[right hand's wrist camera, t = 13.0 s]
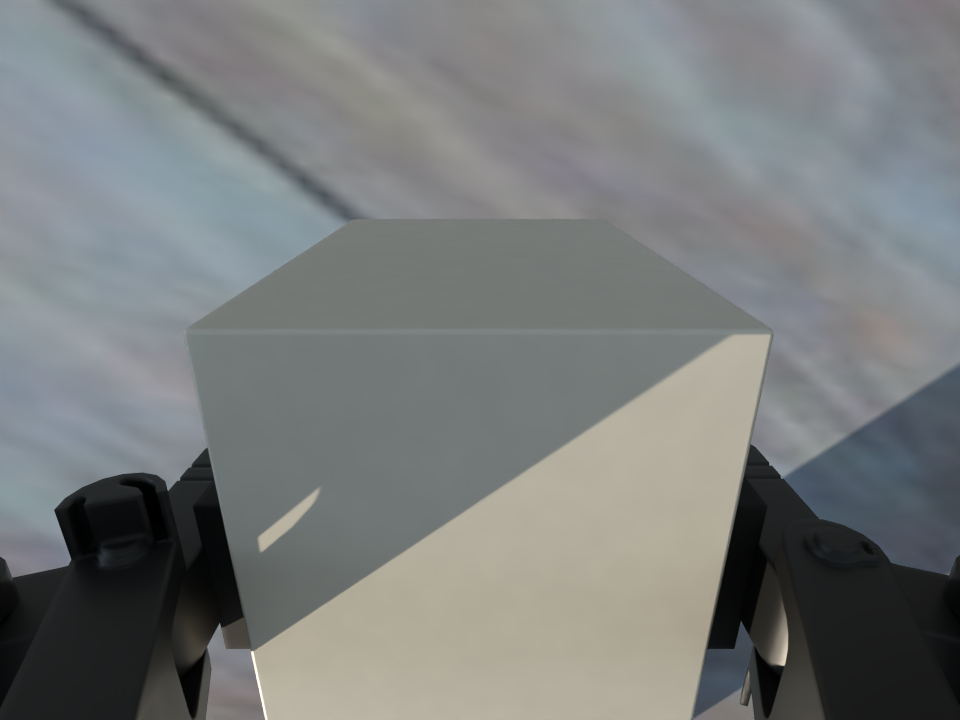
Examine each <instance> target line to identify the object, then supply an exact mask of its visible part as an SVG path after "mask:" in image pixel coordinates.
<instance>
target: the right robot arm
mask: <svg viewBox="0 0 960 720" xmlns="http://www.w3.org/2000/svg"><path fill="white" fill-rule="evenodd" d="M54 511H55V514H56V516H57V519H58V522H59V525H60V528H61V531H62V534H63V536H64V539H65V542H66V545H67V548H68V551H69V554H70V556H71V559H72V560H71V562H70V564H69V566H66V567H62V568H57V569H52V570H48V571H43V572H38V573H33V574H29V575H24V576H19V577H14V578H12V576H11V573H10V571H9V568H8V566H7V563H6V561H5V560H4V559H3V558H1V557H0V720H205V719H206V711H207V702H208V694H209V685H210V677H211V663H210V657H209V653H208V649H207V645H208V644H209V642H210V640H211V638H212V636H213V634H214V632H215V630H216V629H217V627H218V625H219V623H220V625H221V629H222V633H223V637H224V642H225V646H226V649H250V644H249V640H248V635H247V630H246V626H245V621H244V616H243V611H242V607H241V602H240V597H239V593H238V588H237V583H236V579H235V574H234V569H233V564H232V560H231V555H230V550H229V546H228V541H227V536H226V531H225V527H224V522H223V517H222V513H221V508H220V503H219V499H218V494H217V489H216V484H215V480H214V475H213V470H212V466H211V461H210V456H209V451H208V448H206V449H205V450H204V451H203V452H202V453H201V455H200V456H199V457H198V458H197V459H196V460H195V461H194V463H193V464H192V467H191V468H188V469H187V470H186V472H185V473H184V474H183V475H182V476H181V477H180V481H177V482H176V483H175V484H174V485H173V486H172V488H171V489H170V490H169V491H167V487H166V483H165V481H164V480H163V479H161V478H160V477H159V476H157V475H153V474H147V473H131V474H121V475H117V476H113V477H109V478H105V479H102V480H99V481H97V482H94V483H92V484H90V485H87V486H85V487H82V488H81V489H79V490H77V491H76V492H74V493H73V494H71V495H70V496H68V497H66V498H65V499H64V500H63V501H62V502H61V503H60V504H59V505H58V507H57V508H56V509H55V510H54ZM741 621H742V623H743V625H744V627H745V629H746V631H747V632H748V634H749V636H750V638H751V640H752V642H753V644H754V645H753V649H752V653H751V657H750V661H749V665H748V669H747V673H746V677H745V681H744V685H743V689H742V693H741V700H740V704H741V705H745V706H748V703H749V699H750V695H751V693H752V701H753V709H754V718H755V720H960V556H958V557H957V558H956V560H955V562H954V565H953V567H952V570H951V572H950V575H949V576H948V575H944V574H939V573H934V572H929V571H924V570H920V569H915V568H910V567H905V566H901V565H896V564H893V563H890V561H889V559H888V557H887V556H886V555H885V554H884V552H883V551H882V550H881V548H880V547H879V546H878V545H876V544H875V543H874V542H872V541H871V540H870V539H868V538H867V537H866V536H864V535H863V534H861V533H859V532H857V531H855V530H852V529H850V528H848V527H846V526H844V525H841V524H837V523H834V522H830V521H827V520H821V519H819V518H818V517H817V516H816V515H815V514H814V513H813V512H812V510H811V509H810V508H809V507H808V506H807V505H806V504H805V503H804V501H803V500H802V499H801V498H800V497H799V496H798V495H797V494H796V492H795V491H794V490H793V489H792V488H791V487H790V486H789V484H788V483H787V482H786V481H785V480H784V479H781V475H780V474H779V473H778V472H777V471H776V470H775V469H774V468H773V466H769V462H768V461H767V460H766V459H765V457H764V456H763V455H762V454H761V453H760V452H759V451H758V450H757V448H756V447H754V446H753V445H751V444H750V449H749V454H748V458H747V463H746V468H745V473H744V477H743V482H742V487H741V492H740V496H739V501H738V506H737V511H736V515H735V520H734V525H733V530H732V534H731V539H730V544H729V549H728V553H727V558H726V563H725V568H724V572H723V577H722V582H721V587H720V591H719V596H718V601H717V605H716V610H715V615H714V620H713V624H712V629H711V634H710V639H709V643H708V648H707V649H734V647H735V643H736V639H737V635H738V631H739V626H740V622H741Z"/></svg>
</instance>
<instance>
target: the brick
mask: <svg viewBox="0 0 960 720" xmlns="http://www.w3.org/2000/svg"><path fill="white" fill-rule="evenodd" d="M184 339H185V343H186V348H187V353H188V357H189V362H190V367H191V372H192V376H193V381H194V386H195V390H196V395H197V400H198V404H199V409H200V414H201V419H202V423H203V428H204V433H205V437H206V442H207V447H208V451H209V456H210V461H211V466H212V470H213V475H214V480H215V484H216V489H217V494H218V499H219V503H220V508H221V513H222V517H223V522H224V527H225V531H226V536H227V541H228V546H229V550H230V555H231V560H232V564H233V569H234V574H235V579H236V583H237V588H238V593H239V597H240V602H241V607H242V611H243V616H244V621H245V626H246V630H247V635H248V640H249V644H250V649H251V654H252V658H253V663H254V668H255V673H256V677H257V682H258V687H259V691H260V696H261V701H262V706H263V710H264V715H265V720H692V719H693V715H694V710H695V705H696V700H697V696H698V691H699V686H700V681H701V677H702V672H703V667H704V662H705V658H706V653H707V648H708V643H709V639H710V634H711V629H712V624H713V620H714V615H715V610H716V605H717V601H718V596H719V591H720V587H721V582H722V577H723V572H724V568H725V563H726V558H727V553H728V549H729V544H730V539H731V534H732V530H733V525H734V520H735V515H736V511H737V506H738V501H739V496H740V492H741V487H742V482H743V477H744V473H745V468H746V463H747V458H748V454H749V449H750V444H751V439H752V435H753V430H754V425H755V420H756V416H757V411H758V406H759V401H760V397H761V392H762V387H763V382H764V378H765V373H766V368H767V363H768V359H769V354H770V349H771V344H772V340H773V330H772V329H771V328H769V327H768V326H766V325H765V324H763V323H762V322H760V321H759V320H757V319H756V318H754V317H753V316H751V315H750V314H748V313H747V312H745V311H744V310H742V309H740V308H739V307H737V306H736V305H734V304H733V303H731V302H730V301H728V300H727V299H725V298H724V297H722V296H721V295H719V294H718V293H716V292H715V291H713V290H712V289H710V288H709V287H707V286H705V285H704V284H702V283H701V282H699V281H698V280H696V279H695V278H693V277H692V276H690V275H689V274H687V273H686V272H684V271H683V270H681V269H680V268H678V267H677V266H675V265H674V264H672V263H670V262H669V261H667V260H666V259H664V258H663V257H661V256H660V255H658V254H657V253H655V252H654V251H652V250H651V249H649V248H648V247H646V246H645V245H643V244H642V243H640V242H639V241H637V240H635V239H634V238H632V237H631V236H629V235H628V234H626V233H625V232H623V231H622V230H620V229H619V228H617V227H616V226H614V225H613V224H611V223H610V222H608V221H607V220H604V219H354V220H352V221H351V222H349V223H348V224H346V225H345V226H343V227H341V228H340V229H338V230H337V231H335V232H334V233H332V234H331V235H329V236H328V237H326V238H325V239H323V240H322V241H320V242H318V243H317V244H315V245H314V246H312V247H311V248H309V249H308V250H306V251H305V252H303V253H302V254H300V255H298V256H297V257H295V258H294V259H292V260H291V261H289V262H288V263H286V264H285V265H283V266H282V267H280V268H278V269H277V270H275V271H274V272H272V273H271V274H269V275H268V276H266V277H265V278H263V279H262V280H260V281H259V282H257V283H255V284H254V285H252V286H251V287H249V288H248V289H246V290H245V291H243V292H242V293H240V294H239V295H237V296H235V297H234V298H232V299H231V300H229V301H228V302H226V303H225V304H223V305H222V306H220V307H219V308H217V309H215V310H214V311H212V312H211V313H209V314H208V315H206V316H205V317H203V318H202V319H200V320H199V321H197V322H195V323H194V324H192V325H191V326H189V327H188V328H186V329H185V331H184Z"/></svg>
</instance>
